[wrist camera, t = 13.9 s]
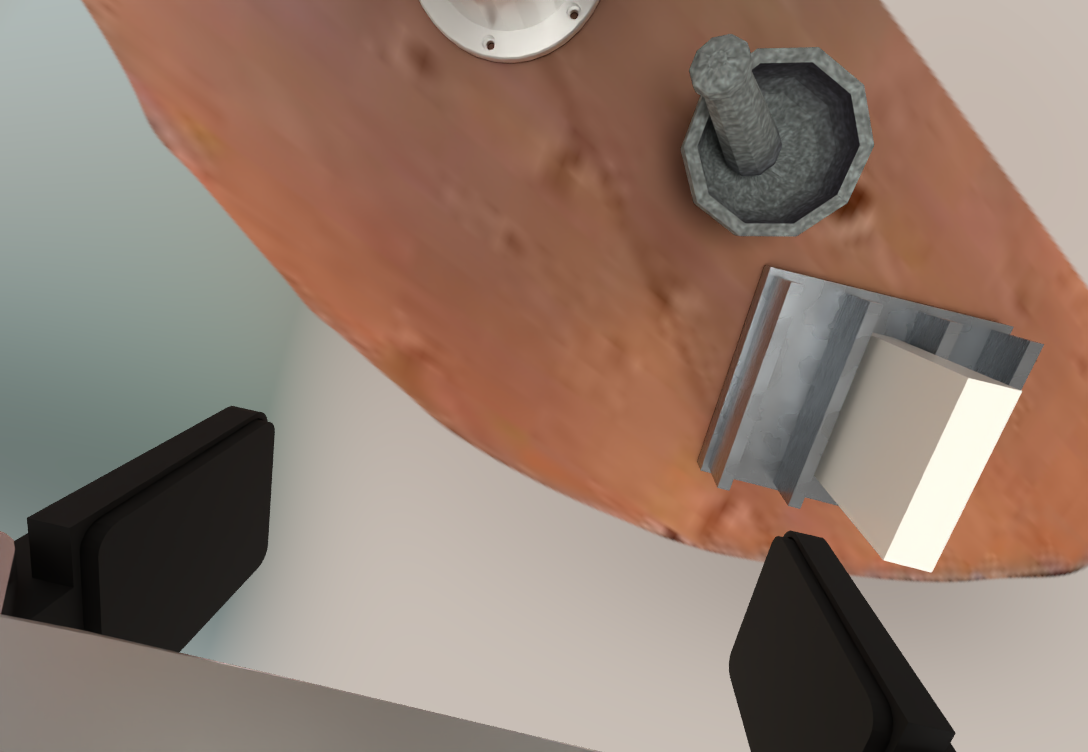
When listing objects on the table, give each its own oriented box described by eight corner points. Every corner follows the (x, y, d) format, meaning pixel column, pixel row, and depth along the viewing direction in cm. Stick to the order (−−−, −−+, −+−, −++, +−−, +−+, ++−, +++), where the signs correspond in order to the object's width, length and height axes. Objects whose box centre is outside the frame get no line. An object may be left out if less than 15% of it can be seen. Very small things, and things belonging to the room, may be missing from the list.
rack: (697, 461, 43) (709, 492, 38) (764, 265, 39) (787, 272, 34) (906, 515, 43) (945, 553, 38) (998, 322, 38) (1054, 338, 34)
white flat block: (803, 463, 41) (883, 560, 29) (856, 328, 38) (968, 377, 26) (838, 471, 41) (931, 572, 29) (894, 337, 38) (1022, 390, 26)
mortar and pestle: (856, 142, 36) (975, 109, 25) (755, 262, 39) (820, 283, 27) (719, 28, 35) (776, -61, 24) (624, 159, 38) (634, 136, 26)
